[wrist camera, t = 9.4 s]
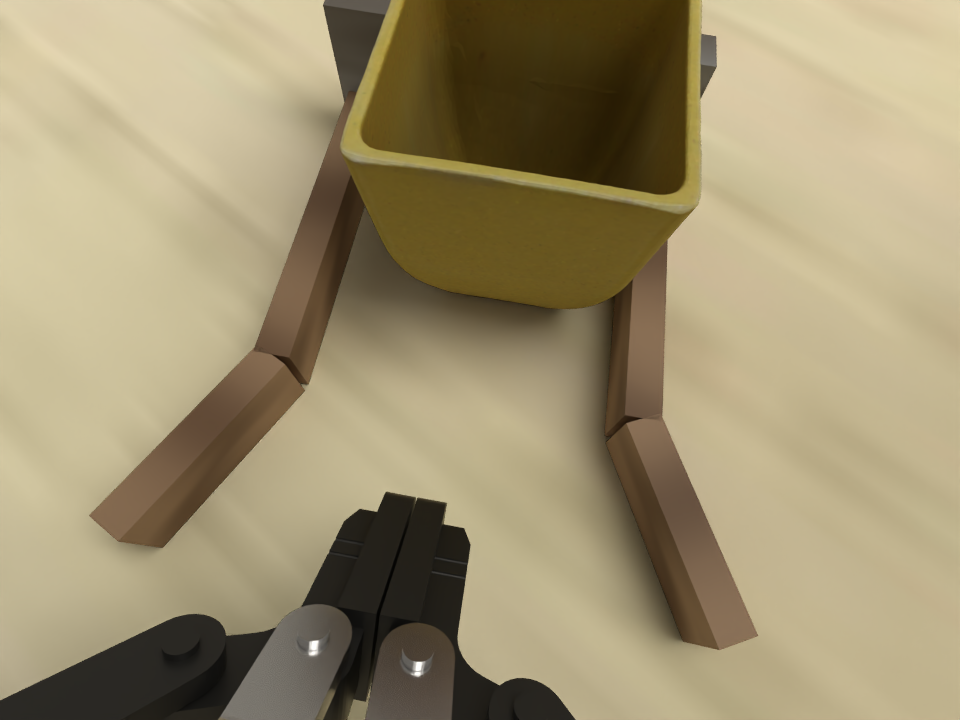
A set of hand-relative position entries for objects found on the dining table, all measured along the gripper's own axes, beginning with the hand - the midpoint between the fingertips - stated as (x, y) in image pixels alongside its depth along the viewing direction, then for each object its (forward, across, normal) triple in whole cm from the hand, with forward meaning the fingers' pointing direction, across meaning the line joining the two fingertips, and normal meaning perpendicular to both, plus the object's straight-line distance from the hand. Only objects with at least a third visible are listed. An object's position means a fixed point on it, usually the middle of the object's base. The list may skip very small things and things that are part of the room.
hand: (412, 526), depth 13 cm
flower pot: (+12, -1, -5) cm, 13 cm away
